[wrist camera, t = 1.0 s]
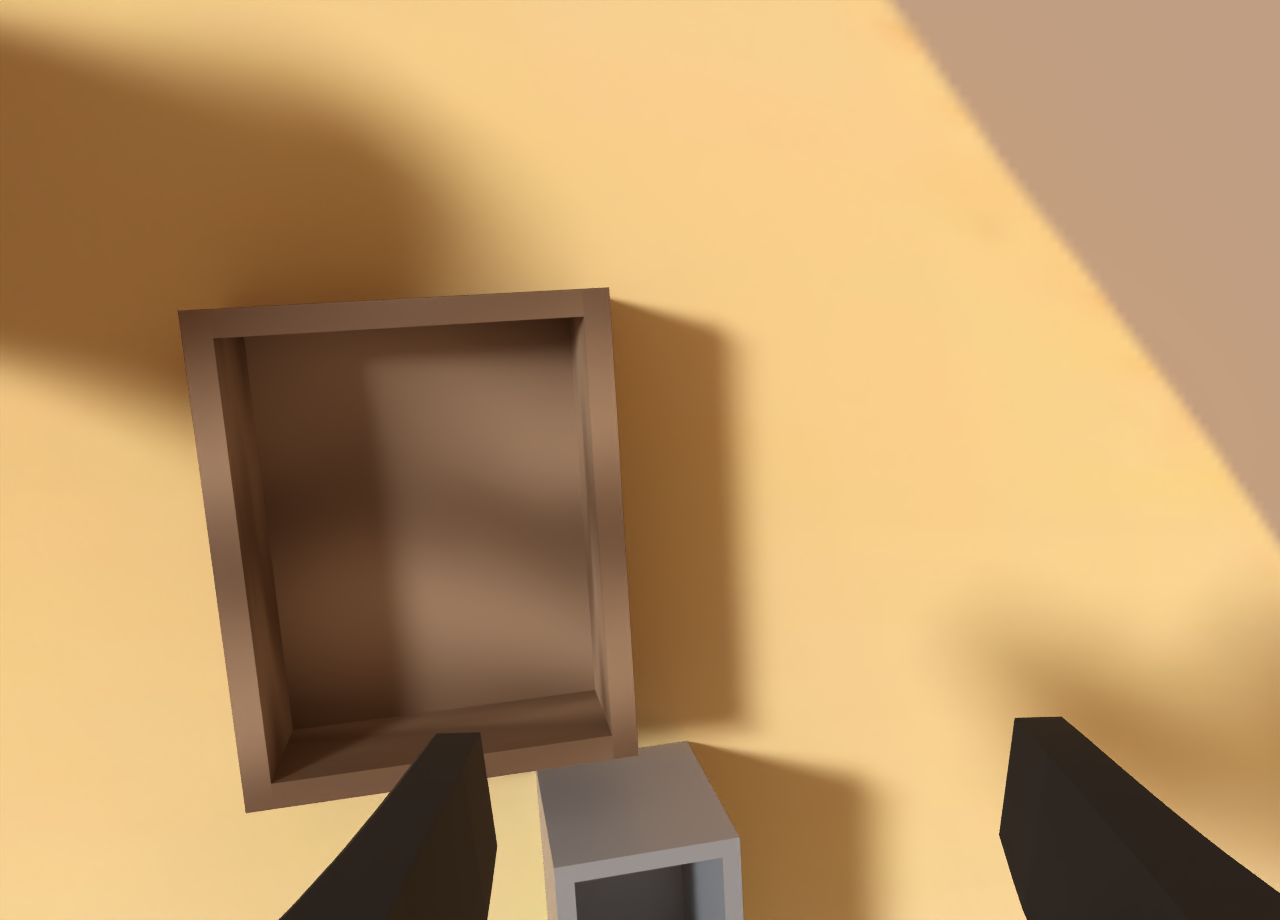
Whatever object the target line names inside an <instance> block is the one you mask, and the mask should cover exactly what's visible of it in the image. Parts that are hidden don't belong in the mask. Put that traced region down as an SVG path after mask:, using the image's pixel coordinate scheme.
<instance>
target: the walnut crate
mask: <svg viewBox="0 0 1280 920" xmlns="http://www.w3.org/2000/svg"><path fill="white" fill-rule="evenodd" d="M178 315H179V322H180V330H181V337H182V345H183V352H184V359H185V367H186V374H187V382H188V389H189V396H190V404H191V411H192V419H193V426H194V433H195V441H196V448H197V456H198V463H199V470H200V478H201V485H202V493H203V500H204V507H205V515H206V522H207V530H208V537H209V544H210V552H211V559H212V567H213V574H214V581H215V589H216V596H217V604H218V611H219V618H220V626H221V633H222V641H223V648H224V655H225V663H226V670H227V678H228V685H229V692H230V700H231V707H232V715H233V722H234V729H235V737H236V744H237V751H238V759H239V766H240V774H241V781H242V788H243V796H244V803H245V811H246V813H250V812H257V811H264V810H271V809H277V808H284V807H291V806H298V805H305V804H311V803H318V802H325V801H332V800H339V799H346V798H352V797H359V796H366V795H373V794H380V793H387V792H391V790H392V789H393V788H394V787H395V785H396V784H397V783H398V781H399V780H400V779H401V777H402V776H403V775H404V773H405V772H406V771H407V770H408V768H409V767H410V766H411V764H412V763H413V762H414V760H415V759H416V758H417V756H418V755H419V754H420V752H421V751H422V750H423V748H424V747H425V746H426V744H427V743H428V742H429V740H430V739H431V738H432V737H433V736H434V735H436V734H437V733H473V732H480V733H481V740H482V747H483V753H484V760H485V767H486V774H487V778H489V777H496V776H503V775H509V774H516V773H523V772H530V771H537V770H544V769H550V768H557V767H564V766H571V765H578V764H584V763H591V762H598V761H605V760H612V759H619V758H625V757H632V756H638V740H637V724H636V708H635V693H634V677H633V661H632V645H631V629H630V613H629V597H628V581H627V566H626V550H625V534H624V518H623V502H622V486H621V470H620V454H619V438H618V423H617V407H616V391H615V375H614V359H613V343H612V327H611V311H610V296H609V287H608V288H589V289H571V290H553V291H534V292H516V293H497V294H479V295H460V296H442V297H424V298H405V299H387V300H368V301H350V302H331V303H313V304H295V305H276V306H258V307H239V308H221V309H202V310H184V311H178Z"/></svg>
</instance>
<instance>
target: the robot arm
mask: <svg viewBox="0 0 1280 920" xmlns="http://www.w3.org/2000/svg"><path fill="white" fill-rule="evenodd" d="M999 836H1000V839H1001V843H1002V846H1003V849H1004V852H1005V856H1006V859H1007V862H1008V866H1009V869H1010V872H1011V876H1012V879H1013V882H1014V885H1015V888H1016V891H1017V894H1018V897H1019V900H1020V903H1021V906H1022V909H1023V911H1024V914H1025V916H1026V918H1027V920H1280V893H1279V892H1278V891H1276V890H1275V889H1273V888H1272V887H1271V886H1269V885H1268V884H1267V883H1265V882H1264V881H1263V880H1261V879H1260V878H1259V877H1257V876H1256V875H1255V874H1253V873H1252V872H1250V871H1249V870H1248V869H1246V868H1245V867H1244V866H1242V865H1241V864H1240V863H1238V862H1237V861H1236V860H1234V859H1233V858H1232V857H1230V856H1229V855H1228V854H1226V853H1225V852H1224V851H1222V850H1221V849H1220V848H1219V847H1217V846H1216V845H1215V844H1213V843H1212V842H1211V841H1210V840H1208V839H1207V838H1206V837H1204V836H1203V835H1202V834H1201V833H1199V832H1198V831H1197V830H1196V829H1194V828H1193V827H1192V826H1191V825H1189V824H1188V823H1187V822H1186V821H1184V820H1183V819H1182V818H1181V817H1180V816H1178V815H1177V814H1176V813H1175V812H1173V811H1172V810H1171V809H1170V808H1169V807H1167V806H1166V805H1165V804H1164V803H1162V802H1161V801H1160V800H1159V799H1158V798H1156V797H1155V796H1154V795H1153V794H1152V793H1150V792H1149V791H1148V790H1147V789H1146V788H1145V787H1143V786H1142V785H1141V784H1140V783H1139V782H1137V781H1136V780H1135V779H1134V778H1133V777H1132V776H1130V775H1129V774H1128V773H1127V772H1126V771H1125V770H1123V769H1122V768H1121V767H1120V766H1119V765H1118V764H1116V763H1115V762H1114V761H1113V760H1112V759H1111V758H1109V757H1108V756H1107V755H1106V754H1105V753H1104V752H1102V751H1101V750H1100V749H1099V748H1098V747H1097V746H1096V745H1094V744H1093V743H1092V742H1091V741H1090V740H1089V739H1087V738H1086V737H1085V736H1084V735H1083V734H1082V733H1080V732H1079V731H1078V730H1077V729H1076V728H1074V727H1073V726H1072V725H1071V724H1070V723H1068V722H1067V721H1066V720H1065V719H1064V718H1062V717H1032V718H1015V720H1014V727H1013V735H1012V742H1011V750H1010V757H1009V765H1008V772H1007V780H1006V787H1005V795H1004V802H1003V810H1002V817H1001V825H1000V832H999ZM496 851H497V841H496V835H495V828H494V821H493V814H492V808H491V801H490V794H489V787H488V781H487V774H486V767H485V760H484V753H483V747H482V740H481V733H480V732H473V733H437V734H436V735H434V736H433V737H432V738H431V739H430V740H429V742H428V743H427V744H426V746H425V747H424V748H423V750H422V751H421V752H420V754H419V755H418V756H417V758H416V759H415V760H414V762H413V763H412V764H411V766H410V767H409V768H408V770H407V771H406V772H405V773H404V775H403V776H402V777H401V779H400V780H399V781H398V783H397V784H396V785H395V787H394V788H393V789H392V790H391V792H390V793H389V794H388V795H387V797H386V798H385V799H384V801H383V802H382V803H381V804H380V806H379V807H378V808H377V809H376V811H375V812H374V813H373V814H372V815H371V817H370V818H369V819H368V820H367V821H366V823H365V824H364V825H363V826H362V828H361V829H360V830H359V831H358V832H357V834H356V835H355V836H354V837H353V838H352V840H351V841H350V842H349V843H348V844H347V846H346V847H345V848H344V849H343V850H342V852H341V853H340V854H339V855H338V856H337V857H336V858H335V860H334V861H333V862H332V863H331V864H330V865H329V866H328V867H327V868H326V869H325V871H324V872H323V873H322V874H321V875H320V876H319V877H318V878H317V879H316V880H315V882H314V883H313V884H312V885H311V886H310V887H309V888H308V889H307V890H306V891H305V893H304V894H303V895H302V896H301V897H300V898H299V899H298V900H297V901H296V902H295V903H294V904H293V906H292V907H291V908H290V909H289V910H288V911H287V912H286V913H285V914H284V915H283V916H282V917H281V918H280V919H279V920H487V917H488V911H489V904H490V897H491V890H492V882H493V874H494V867H495V859H496Z"/></svg>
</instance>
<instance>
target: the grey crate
mask: <svg viewBox="0 0 1280 920" xmlns="http://www.w3.org/2000/svg"><path fill="white" fill-rule="evenodd" d="M536 779H537V791H538V803H539V815H540V828H541V840H542V852H543V864H544V877H545V889H546V901H547V913H548V920H744V917H743V895H742V873H741V851H740V837H739V835H738V833H737V831H736V829H735V828H734V826H733V824H732V822H731V820H730V818H729V817H728V815H727V813H726V811H725V809H724V808H723V806H722V804H721V802H720V800H719V798H718V797H717V795H716V793H715V791H714V789H713V788H712V786H711V784H710V782H709V780H708V778H707V777H706V775H705V773H704V771H703V769H702V767H701V766H700V764H699V762H698V760H697V758H696V757H695V755H694V753H693V751H692V749H691V747H690V746H689V744H688V742H687V741H684V742H677V743H670V744H663V745H657V746H650V747H643V748H638V756H632V757H625V758H619V759H612V760H605V761H598V762H591V763H584V764H578V765H571V766H564V767H557V768H550V769H544V770H537V771H536Z"/></svg>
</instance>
